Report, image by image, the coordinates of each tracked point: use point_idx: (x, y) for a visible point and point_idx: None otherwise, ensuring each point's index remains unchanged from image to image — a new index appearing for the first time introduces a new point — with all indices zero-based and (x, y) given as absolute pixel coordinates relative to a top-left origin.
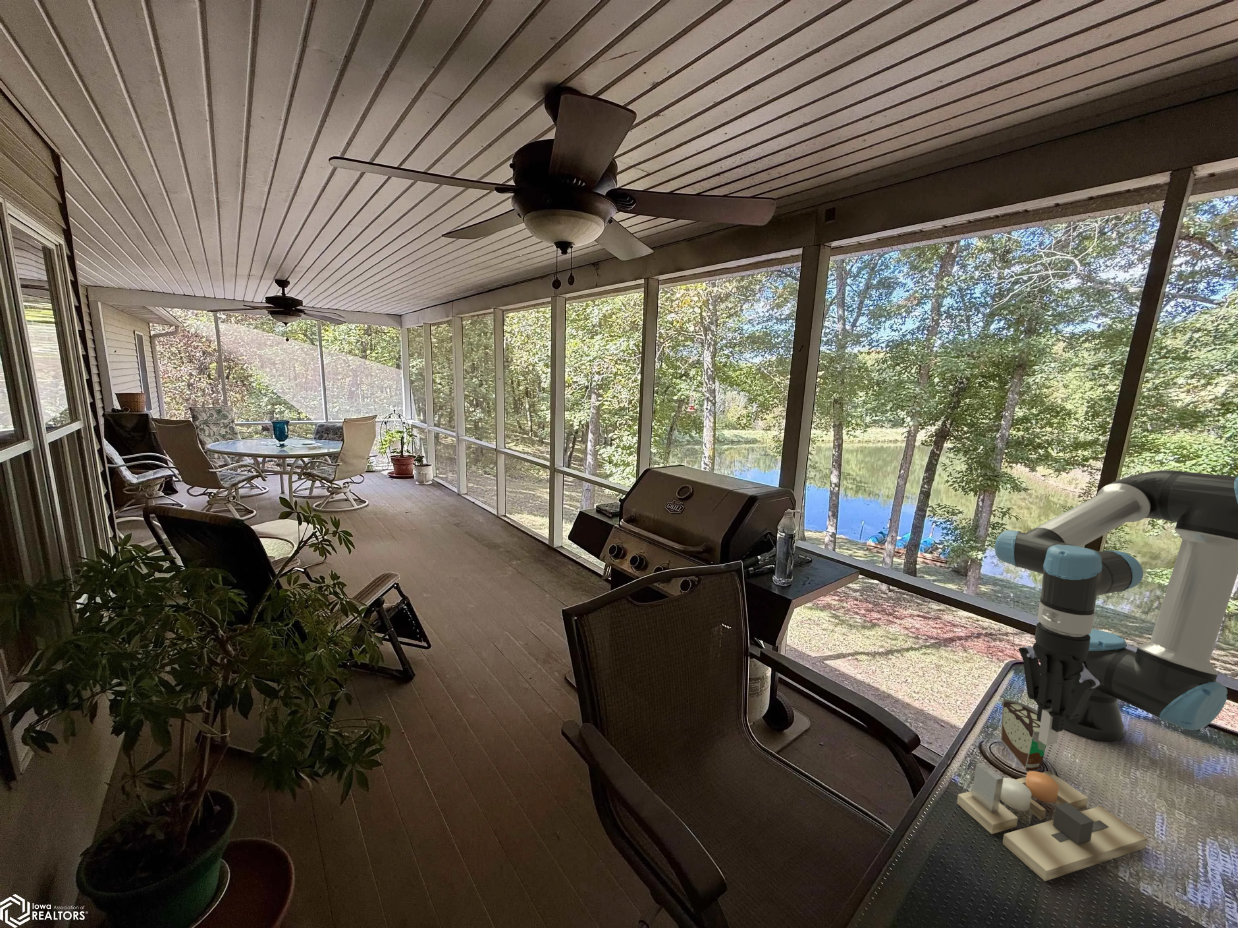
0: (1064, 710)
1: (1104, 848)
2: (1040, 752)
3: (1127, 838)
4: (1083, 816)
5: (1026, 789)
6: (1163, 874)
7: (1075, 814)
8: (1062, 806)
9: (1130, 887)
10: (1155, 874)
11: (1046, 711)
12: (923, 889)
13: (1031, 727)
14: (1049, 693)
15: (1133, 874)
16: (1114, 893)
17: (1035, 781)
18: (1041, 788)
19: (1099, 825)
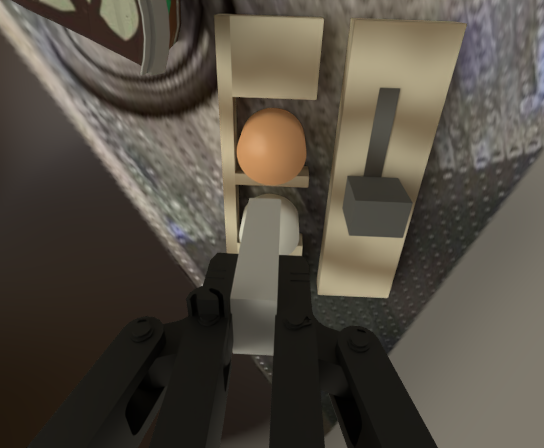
0: (337, 416)
1: (419, 167)
2: (168, 7)
3: (437, 81)
4: (394, 209)
5: (281, 220)
6: (497, 76)
7: (382, 219)
8: (356, 222)
9: (463, 177)
10: (486, 94)
11: (248, 347)
12: (324, 394)
13: (101, 22)
14: (215, 426)
15: (458, 140)
16: (450, 214)
17: (269, 175)
18: (288, 180)
19: (387, 106)
